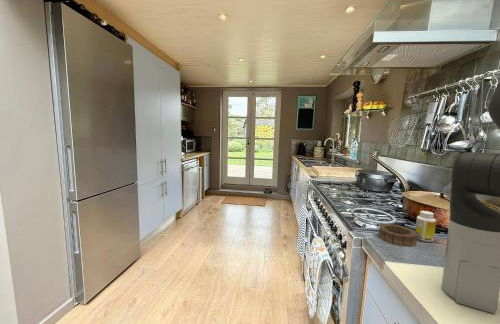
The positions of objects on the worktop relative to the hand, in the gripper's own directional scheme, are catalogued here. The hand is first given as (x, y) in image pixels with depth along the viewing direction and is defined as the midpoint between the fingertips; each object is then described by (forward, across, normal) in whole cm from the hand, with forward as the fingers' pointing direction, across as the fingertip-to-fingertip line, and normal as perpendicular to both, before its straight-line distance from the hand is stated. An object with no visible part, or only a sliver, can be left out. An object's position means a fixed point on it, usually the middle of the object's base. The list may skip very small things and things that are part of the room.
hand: (480, 181), depth 74 cm
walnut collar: (+32, +5, 0) cm, 33 cm away
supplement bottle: (+26, 0, +7) cm, 27 cm away
